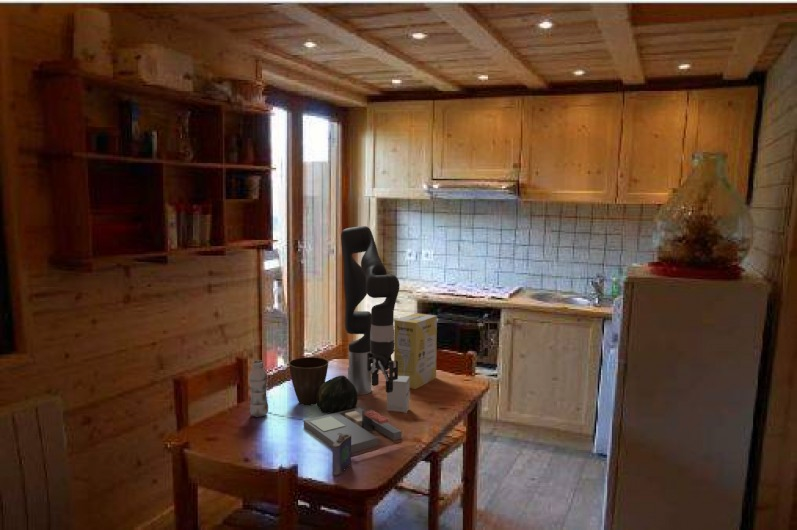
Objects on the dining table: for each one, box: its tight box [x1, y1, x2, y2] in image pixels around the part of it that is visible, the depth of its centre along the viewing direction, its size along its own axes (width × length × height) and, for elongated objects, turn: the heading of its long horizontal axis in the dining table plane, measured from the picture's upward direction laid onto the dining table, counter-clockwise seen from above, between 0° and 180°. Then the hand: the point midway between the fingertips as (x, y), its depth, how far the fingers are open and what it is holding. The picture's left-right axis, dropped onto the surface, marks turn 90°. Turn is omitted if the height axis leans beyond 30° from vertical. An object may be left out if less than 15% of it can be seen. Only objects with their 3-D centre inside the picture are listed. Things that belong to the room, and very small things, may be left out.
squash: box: [315, 375, 358, 414], centre depth 207 cm, size 14×15×15 cm
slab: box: [345, 411, 362, 427], centre depth 193 cm, size 9×4×3 cm, turn 35°
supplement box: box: [386, 376, 410, 414], centre depth 209 cm, size 7×7×13 cm
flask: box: [331, 433, 352, 477], centre depth 163 cm, size 9×3×11 cm, turn 158°
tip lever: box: [344, 408, 390, 432], centre depth 188 cm, size 23×6×8 cm, turn 35°
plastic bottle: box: [248, 359, 269, 418], centre depth 203 cm, size 6×7×20 cm
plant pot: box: [288, 356, 329, 407], centre depth 217 cm, size 15×15×16 cm
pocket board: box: [303, 406, 403, 458], centre depth 186 cm, size 26×22×4 cm
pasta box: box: [393, 312, 438, 390], centre depth 244 cm, size 18×10×28 cm, turn 148°
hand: (382, 388), depth 179 cm, fingers open, 7 cm apart
